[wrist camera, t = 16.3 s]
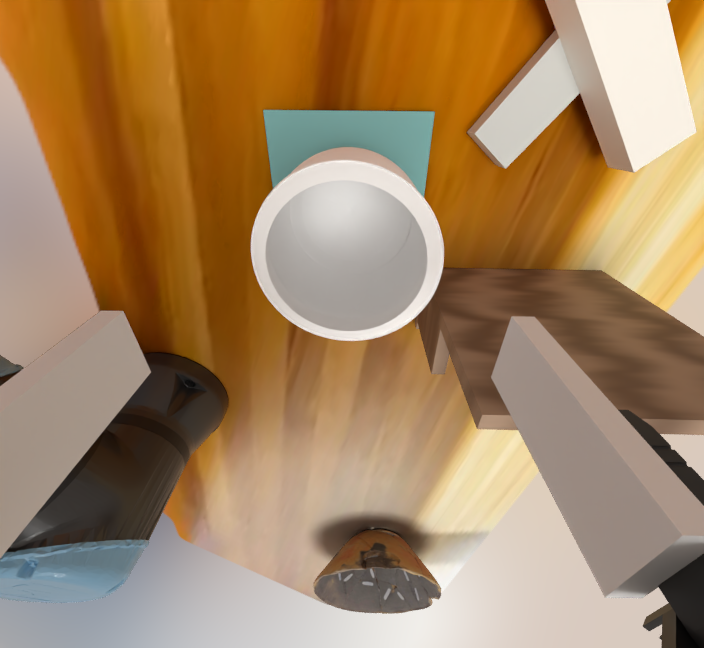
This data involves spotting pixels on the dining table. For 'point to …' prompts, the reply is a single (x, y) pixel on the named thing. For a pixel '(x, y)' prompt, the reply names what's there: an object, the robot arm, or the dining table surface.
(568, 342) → the wood grain panel
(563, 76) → the offcut low
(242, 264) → the dining table surface
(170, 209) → the dining table surface
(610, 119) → the offcut top
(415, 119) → the mat
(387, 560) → the bowl
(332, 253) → the jar
